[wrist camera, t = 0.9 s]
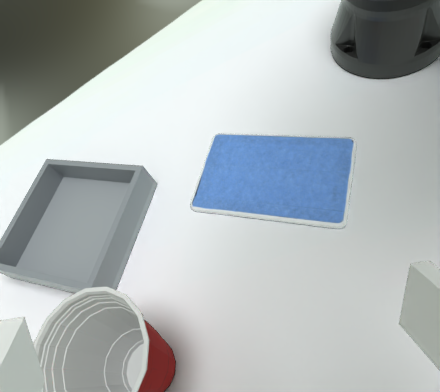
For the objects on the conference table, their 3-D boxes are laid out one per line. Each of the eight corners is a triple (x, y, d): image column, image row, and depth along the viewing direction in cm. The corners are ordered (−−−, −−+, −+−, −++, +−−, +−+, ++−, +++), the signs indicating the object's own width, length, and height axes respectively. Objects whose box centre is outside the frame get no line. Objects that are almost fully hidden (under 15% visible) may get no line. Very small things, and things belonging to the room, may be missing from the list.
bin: (65, 175, 57) (46, 159, 53) (157, 184, 51) (142, 165, 47) (12, 277, 49) (-15, 266, 46) (111, 302, 43) (89, 291, 40)
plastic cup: (88, 416, 37) (-2, 416, 28) (123, 310, 42) (56, 278, 33) (183, 445, 34) (117, 458, 24) (209, 326, 39) (163, 295, 29)
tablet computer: (190, 212, 47) (186, 208, 46) (216, 136, 53) (213, 130, 52) (345, 233, 40) (346, 227, 39) (357, 142, 46) (357, 135, 44)
